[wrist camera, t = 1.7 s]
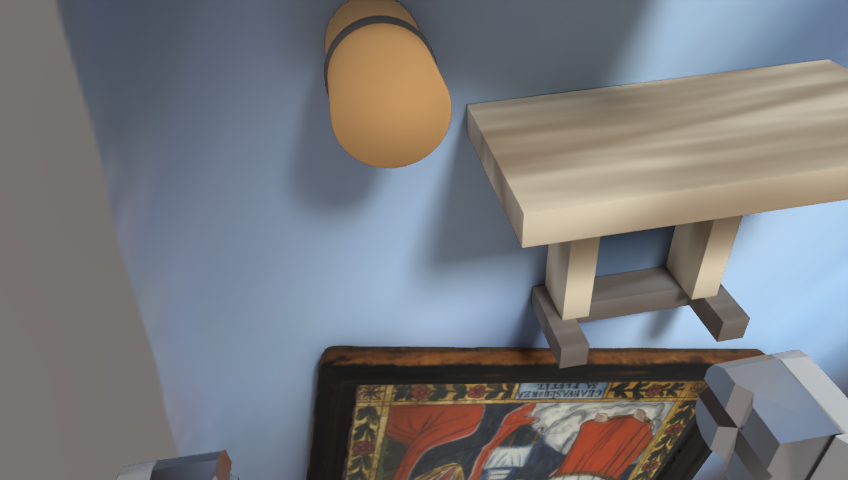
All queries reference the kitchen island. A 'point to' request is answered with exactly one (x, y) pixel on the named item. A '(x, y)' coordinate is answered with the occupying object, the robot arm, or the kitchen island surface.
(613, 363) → the framed icon painting
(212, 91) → the kitchen island surface
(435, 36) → the kitchen island surface
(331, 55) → the banded tan cylinder
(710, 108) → the wooden trestle bench
